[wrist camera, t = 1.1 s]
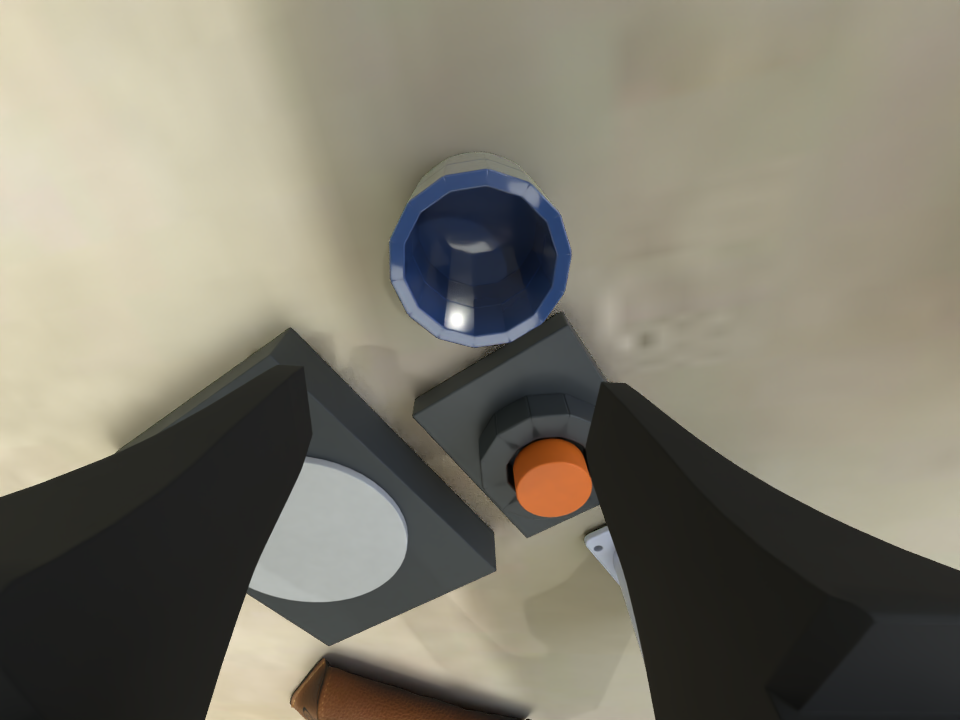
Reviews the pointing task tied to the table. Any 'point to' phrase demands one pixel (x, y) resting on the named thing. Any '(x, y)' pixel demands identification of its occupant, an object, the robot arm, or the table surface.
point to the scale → (352, 512)
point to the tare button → (551, 478)
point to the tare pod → (516, 412)
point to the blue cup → (479, 252)
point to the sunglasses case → (369, 700)
